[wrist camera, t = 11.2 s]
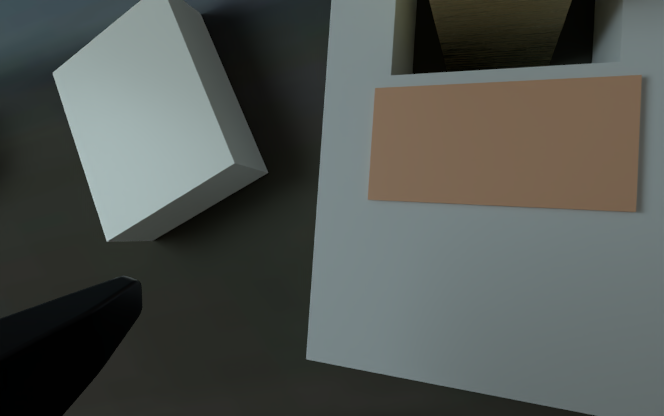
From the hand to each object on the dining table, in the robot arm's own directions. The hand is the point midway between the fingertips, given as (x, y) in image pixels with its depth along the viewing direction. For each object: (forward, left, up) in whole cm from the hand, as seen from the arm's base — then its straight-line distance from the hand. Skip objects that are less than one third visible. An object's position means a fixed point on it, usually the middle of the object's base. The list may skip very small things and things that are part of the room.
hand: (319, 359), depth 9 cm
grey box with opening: (+3, -8, -10) cm, 13 cm away
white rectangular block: (+15, +3, -10) cm, 18 cm away
